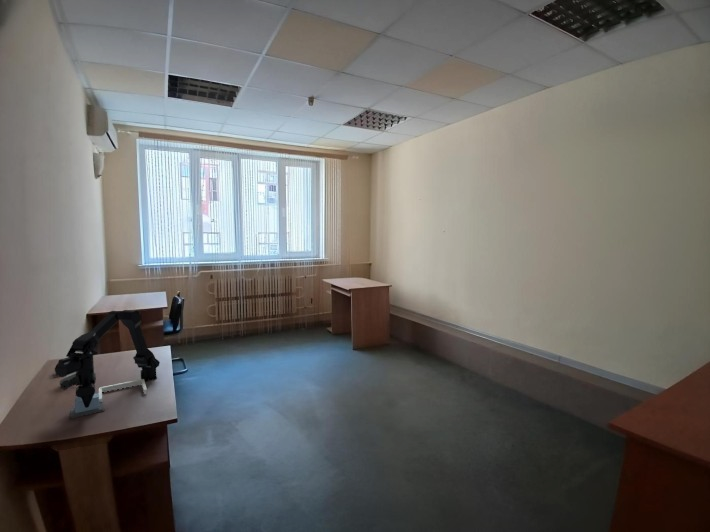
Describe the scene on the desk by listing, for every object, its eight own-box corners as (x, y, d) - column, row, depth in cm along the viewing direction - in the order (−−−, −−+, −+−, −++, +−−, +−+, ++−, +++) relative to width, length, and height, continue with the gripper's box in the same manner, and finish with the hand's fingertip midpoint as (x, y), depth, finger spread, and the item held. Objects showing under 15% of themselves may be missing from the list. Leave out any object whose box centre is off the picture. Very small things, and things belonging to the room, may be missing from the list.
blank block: (75, 408, 149) (75, 397, 148) (99, 403, 154) (98, 392, 153) (75, 413, 145) (74, 401, 145) (99, 408, 150) (98, 396, 149)
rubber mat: (103, 403, 156) (103, 401, 156) (103, 411, 149) (103, 408, 149) (71, 410, 149) (71, 408, 149) (70, 418, 143) (70, 416, 143)
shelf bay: (144, 383, 177) (143, 378, 177) (146, 394, 166) (146, 389, 165) (99, 392, 166) (98, 387, 166) (98, 404, 155) (98, 399, 155)
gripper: (62, 364, 151) (64, 399, 152) (58, 379, 135) (60, 418, 137) (94, 359, 157) (96, 392, 158) (93, 373, 142) (95, 410, 143)
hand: (87, 402), depth 149 cm, fingers open, 9 cm apart
